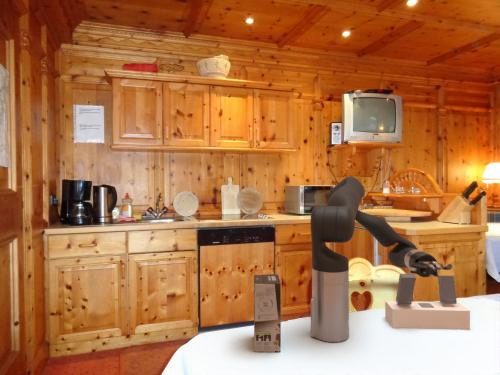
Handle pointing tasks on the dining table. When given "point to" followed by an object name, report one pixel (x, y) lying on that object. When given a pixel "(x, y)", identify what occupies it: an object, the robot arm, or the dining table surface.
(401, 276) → the lever left
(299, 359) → the dining table surface
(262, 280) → the coffee box
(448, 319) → the beige lever base
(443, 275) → the lever right
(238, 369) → the dining table surface
